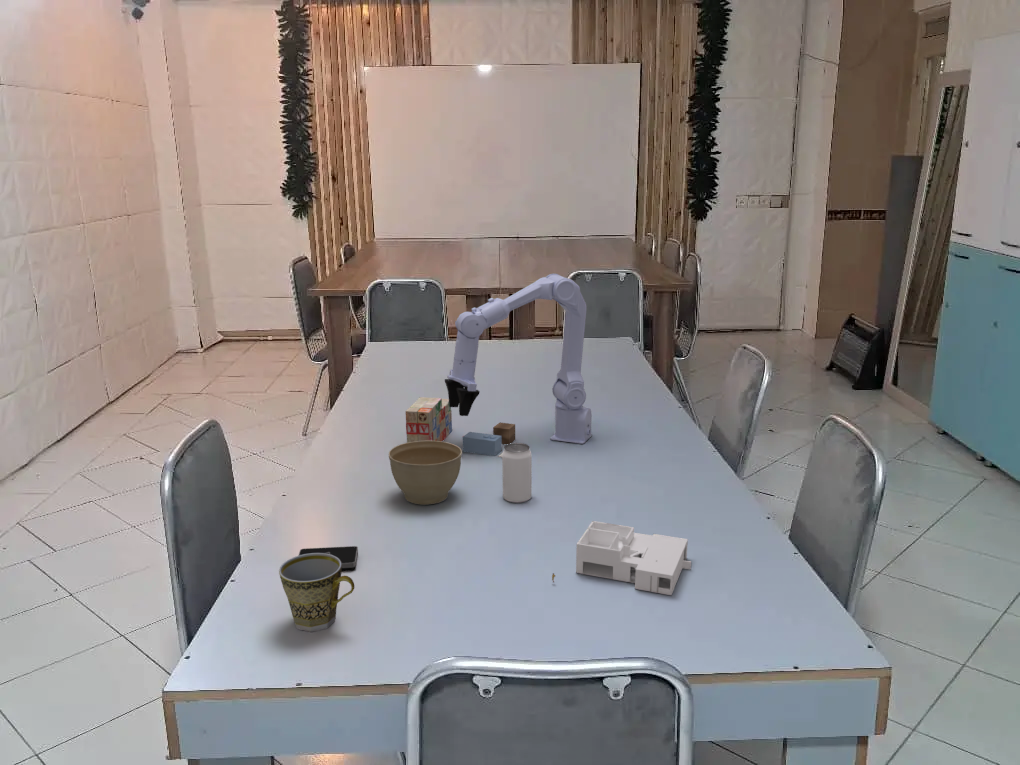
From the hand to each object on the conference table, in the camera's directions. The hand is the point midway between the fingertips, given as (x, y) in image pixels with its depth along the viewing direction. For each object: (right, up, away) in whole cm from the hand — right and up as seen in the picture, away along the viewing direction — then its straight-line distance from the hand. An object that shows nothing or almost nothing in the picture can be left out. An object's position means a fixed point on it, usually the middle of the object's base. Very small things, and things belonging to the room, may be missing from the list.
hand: (458, 411), depth 218 cm
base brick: (+6, -10, +2) cm, 12 cm away
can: (+15, -19, -28) cm, 36 cm away
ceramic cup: (-18, -33, -77) cm, 86 cm away
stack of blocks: (-8, -9, +8) cm, 15 cm away
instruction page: (+14, -11, 0) cm, 18 cm away
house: (+38, -28, -60) cm, 77 cm away
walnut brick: (+12, -8, +9) cm, 17 cm away
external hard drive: (-21, -27, -57) cm, 67 cm away
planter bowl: (-5, -19, -27) cm, 33 cm away
